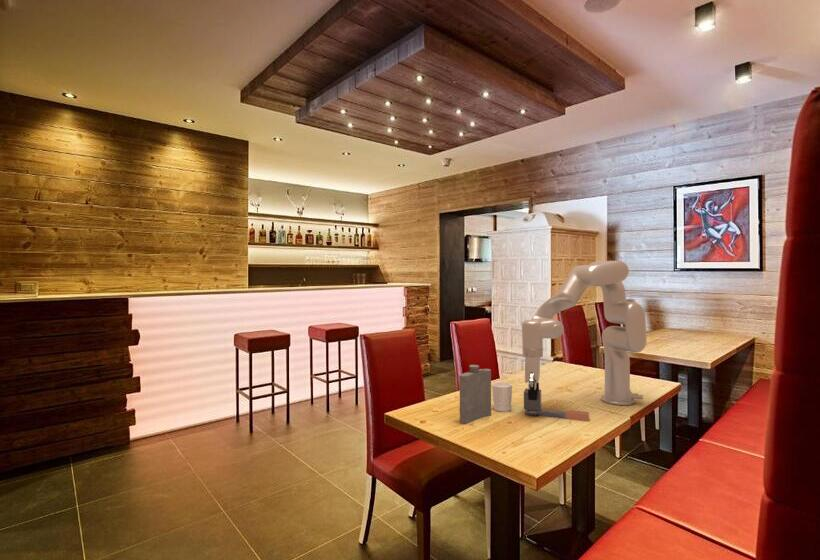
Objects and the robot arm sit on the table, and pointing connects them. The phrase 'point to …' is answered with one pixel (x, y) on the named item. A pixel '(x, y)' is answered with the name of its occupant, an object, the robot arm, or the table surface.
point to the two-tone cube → (532, 401)
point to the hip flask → (475, 394)
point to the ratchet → (560, 414)
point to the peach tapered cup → (502, 396)
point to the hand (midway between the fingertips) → (533, 396)
